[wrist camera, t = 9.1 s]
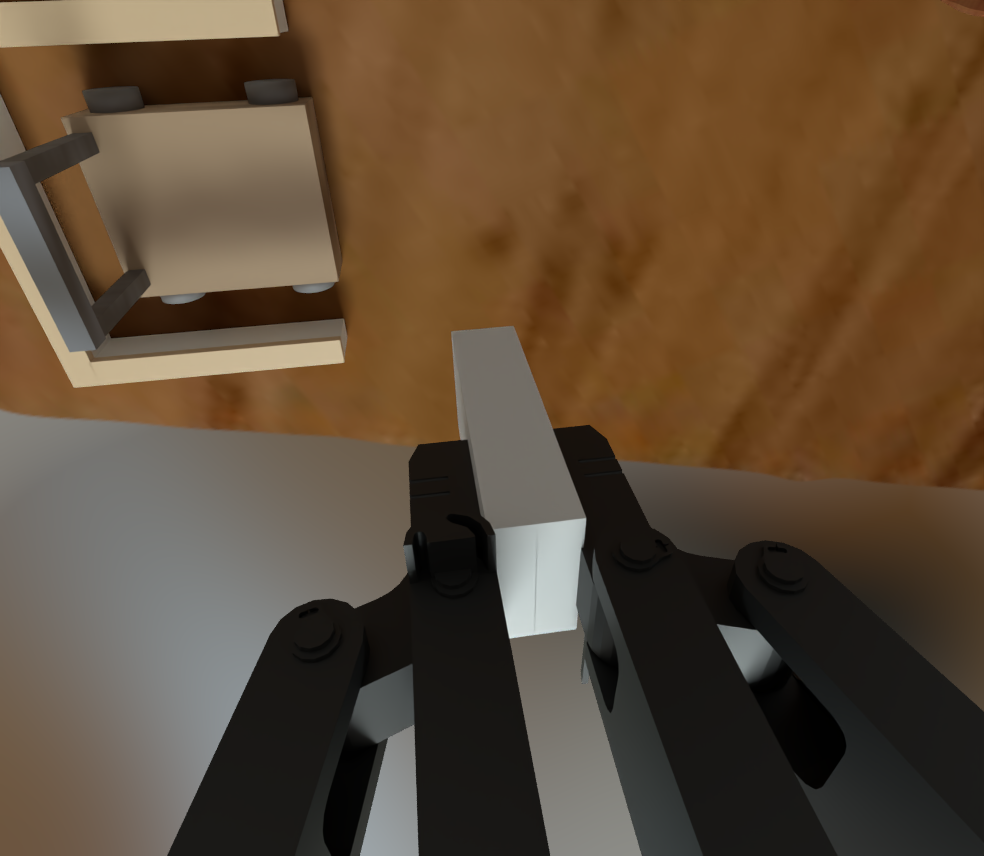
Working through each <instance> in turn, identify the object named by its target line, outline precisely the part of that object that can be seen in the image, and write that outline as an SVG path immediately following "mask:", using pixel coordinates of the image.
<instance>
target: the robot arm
mask: <svg viewBox="0 0 984 856" xmlns="http://www.w3.org/2000/svg"><path fill="white" fill-rule="evenodd" d="M451 334H452V347H453V360H454V373H455V387H456V400H457V413H458V425H459V432H460V438H461V440H458V441H448V442H439V443H429V444H420V445H418V446H417V448H416V450H415V452H414V453H413V455H412V457H411V459H410V461H409V482H410V513H411V528H410V529H409V530H408V531H407V533H406V537H405V541H404V545H403V547H404V553H405V558H406V564H407V571H408V573H407V575H406V576H405V578H404V579H403V580H402V581H401V583H400V584H399V585H398V586H397V587H395V588H394V589H393V590H392V591H390V592H389V593H388V594H386V595H384V596H382V597H380V598H378V599H376V600H374V601H371V602H369V603H367V604H364V605H362V606H360V607H357V608H355V609H354V608H353V607H352V606H351V605H349V604H348V603H346V602H342V601H339V600H335V599H322V600H313V601H311V602H308V603H306V604H303V605H301V606H298V607H296V608H295V609H293V610H292V611H291V612H290V613H288V614H287V615H286V616H284V617H283V618H282V619H281V620H280V621H279V622H278V624H277V625H276V627H275V628H274V630H273V631H272V633H271V634H270V636H269V638H268V640H267V642H266V645H265V647H264V649H263V651H262V653H261V655H260V657H259V660H258V662H257V664H256V666H255V668H254V671H253V672H252V675H251V677H250V679H249V681H248V683H247V685H246V687H245V690H244V692H243V694H242V696H241V698H240V701H239V702H238V705H237V707H236V709H235V711H234V713H233V715H232V718H231V720H230V722H229V724H228V727H227V728H226V730H225V733H224V735H223V737H222V739H221V741H220V743H219V745H218V748H217V750H216V752H215V754H214V756H213V758H212V761H211V763H210V765H209V767H208V769H207V771H206V773H205V776H204V778H203V780H202V782H201V784H200V786H199V788H198V791H197V793H196V795H195V797H194V799H193V801H192V803H191V806H190V808H189V810H188V812H187V814H186V816H185V819H184V821H183V823H182V825H181V827H180V829H179V831H178V834H177V836H176V838H175V840H174V842H173V844H172V846H171V849H170V851H169V853H168V855H167V856H360V852H361V848H362V844H363V840H364V835H365V832H366V827H367V823H368V819H369V815H370V810H371V806H372V802H373V798H374V794H375V790H376V786H377V782H378V777H379V773H380V769H381V765H382V761H383V756H384V752H385V748H386V744H387V740H388V737H390V736H392V735H394V734H396V733H398V732H400V731H402V730H404V729H406V728H408V727H410V726H412V725H414V726H415V756H416V785H417V816H418V845H419V846H418V847H419V856H550V852H549V847H548V841H547V836H546V831H545V826H544V820H543V815H542V809H541V804H540V799H539V793H538V788H537V783H536V778H535V772H534V767H533V762H532V756H531V751H530V746H529V741H528V735H527V730H526V725H525V720H524V714H523V708H522V703H521V698H520V692H519V687H518V682H517V677H516V672H515V666H514V661H513V655H512V650H511V645H510V640H509V638H516V637H522V636H530V635H537V634H544V633H551V632H559V631H566V630H573V629H576V626H577V616H578V613H579V617H580V620H581V623H582V626H583V629H584V632H585V638H584V648H583V657H582V666H581V680H582V684H585V683H588V679H589V676H590V679H591V683H592V686H593V689H594V693H595V696H596V700H597V703H598V707H599V710H600V713H601V717H602V720H603V723H604V727H605V730H606V734H607V737H608V741H609V744H610V747H611V751H612V755H613V758H614V761H615V765H616V768H617V772H618V775H619V778H620V782H621V786H622V789H623V792H624V795H625V799H626V803H627V806H628V810H629V813H630V816H631V820H632V823H633V826H634V830H635V834H636V837H637V840H638V844H639V847H640V851H641V854H642V856H984V712H983V711H982V710H981V709H980V708H979V707H978V706H977V705H976V704H975V703H973V702H972V701H971V700H970V699H969V698H968V697H967V696H966V695H965V694H964V693H962V692H961V691H960V690H959V689H958V688H957V687H956V686H955V685H954V684H952V683H951V682H950V681H949V680H948V679H947V678H946V677H945V676H944V675H943V674H941V673H940V672H939V671H938V670H937V669H936V668H935V667H934V666H933V665H931V664H930V663H929V662H928V661H927V660H926V659H925V658H923V656H922V655H920V654H919V653H918V652H917V651H916V650H915V649H914V648H913V647H911V646H910V645H909V644H908V643H907V642H906V641H905V640H904V639H903V638H902V637H900V636H899V635H898V634H897V633H896V632H895V631H894V630H893V629H892V628H890V627H889V626H888V625H887V624H886V623H885V622H884V621H882V619H881V618H879V617H878V616H877V615H876V614H875V613H874V612H873V611H872V610H870V609H869V608H868V607H867V606H866V605H865V604H864V603H863V602H862V601H861V600H859V599H858V598H857V597H856V596H855V595H854V594H853V593H852V592H851V591H850V590H848V589H847V588H846V587H845V586H844V585H843V584H842V583H841V582H840V581H838V580H837V579H836V578H835V577H834V576H833V575H832V574H831V573H830V572H828V571H827V570H826V569H825V568H824V567H823V566H822V565H821V564H820V563H818V562H817V561H816V560H815V559H813V558H812V557H811V556H809V555H808V554H806V553H805V552H803V551H802V550H800V549H798V548H795V547H793V546H790V545H787V544H785V543H780V542H773V541H760V542H753V543H750V544H748V545H746V546H745V547H743V548H742V549H740V550H739V552H738V555H737V556H736V559H735V560H728V559H720V558H713V557H705V556H699V555H694V554H690V553H686V552H684V551H681V550H679V549H677V548H676V546H675V545H674V544H673V543H672V542H671V541H670V539H669V538H668V537H666V536H665V535H663V534H662V533H660V532H659V531H657V530H655V529H652V528H651V527H650V525H649V523H648V521H647V519H646V517H645V515H644V513H643V511H642V509H641V507H640V505H639V503H638V501H637V499H636V497H635V495H634V493H633V491H632V489H631V487H630V485H629V483H628V481H627V479H626V477H625V475H624V474H622V469H621V467H620V465H619V463H618V461H617V459H615V455H614V453H613V451H612V449H611V447H610V445H609V443H608V441H607V439H606V438H605V437H604V436H602V435H601V434H600V433H599V432H598V431H596V430H595V429H594V428H593V427H591V426H590V425H585V426H575V427H566V428H556V429H552V426H551V423H550V421H549V418H548V416H547V413H546V410H545V408H544V405H543V402H542V400H541V397H540V394H539V392H538V389H537V386H536V384H535V381H534V379H533V376H532V373H531V371H530V368H529V365H528V363H527V360H526V357H525V355H524V352H523V350H522V347H521V344H520V342H519V339H518V336H517V334H516V331H515V328H514V326H508V327H496V328H485V329H474V330H462V331H451Z"/></svg>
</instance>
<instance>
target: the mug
mask: <svg viewBox="0 0 984 856" xmlns="http://www.w3.org/2000/svg"><path fill="white" fill-rule="evenodd" d="M941 1H943V2H944V3H946V4H948V5H949V6H951V7H953V8H955V9H956V10H958V11H960V12H964V13H967V14H970V15H974V16H982V17H984V0H941Z"/></svg>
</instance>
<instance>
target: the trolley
mask: <svg viewBox="0 0 984 856" xmlns="http://www.w3.org/2000/svg"><path fill="white" fill-rule="evenodd" d="M244 85H245V89H246V94H247V98H248V100H240V101H220V102H200V103H180V104H160V105H144V103H143V100H142V97H141V94H140V91H139V88H138V87H137V86H117V87H104V88H95V89H88V90H83V91H82V92H83V95H84V98H85V100H86V103H87V106H88V108H89V109H86V110H83V111H80V112H77V113H74V114H71V115H68V116H65V117H61V120H62V123H63V125H64V127H65V130H66V132H67V136H64V137H61V138H59V139H56V140H53V141H51V142H48V143H46V144H43V145H40V146H38V147H35V148H33V149H30V150H27V151H25V152H22V153H20V154H17V155H14V156H12V157H9V158H7V159H4V160H1V161H0V216H1V218H2V220H3V222H4V224H5V226H6V228H7V230H8V232H9V234H10V236H11V238H12V240H13V241H14V243H15V245H16V247H17V249H18V251H19V253H20V255H21V257H22V259H23V261H24V263H25V265H26V267H27V269H28V271H29V273H30V275H31V277H32V279H33V281H34V283H35V285H36V287H37V289H38V291H39V293H40V295H41V297H42V299H43V301H44V303H45V305H46V307H47V309H48V310H49V312H50V314H51V316H52V318H53V320H54V322H55V324H56V326H57V328H58V330H59V332H60V334H61V336H62V338H63V340H64V342H65V344H66V346H67V348H68V350H69V352H79V351H90V350H97V349H98V347H99V346H100V345H101V344H102V343H103V342H104V341H105V339H106V336H107V334H108V333H109V332H110V331H111V330H112V329H113V328H114V326H115V325H116V324H117V323H118V322H119V321H120V320H121V318H122V317H123V316H124V315H125V314H126V313H127V312H128V310H129V309H130V308H131V307H132V306H133V305H134V304H135V302H136V301H137V300H138V299H139V298H141V297H153V296H160V297H161V299H162V301H163V302H164V303H168V304H181V303H187V302H191V301H194V300H197V299H199V298H201V297H203V296H204V295H205V294H206V292H215V291H228V290H240V289H253V288H265V287H278V286H290V285H293V289H294V290H295V291H297V292H300V293H315V292H320V291H324V290H327V289H329V288H331V287H332V286H333V285H334V282H338V281H339V276H340V271H341V266H342V256H341V250H340V245H339V239H338V234H337V229H336V223H335V218H334V212H333V207H332V201H331V196H330V190H329V185H328V179H327V174H326V169H325V163H324V158H323V152H322V147H321V141H320V136H319V130H318V125H317V119H316V114H315V108H314V103H313V98H312V97H299V98H298V94H297V88H296V83H295V80H294V79H266V80H256V81H249V82H245V83H244ZM78 163H79V164H80V166H81V169H82V171H83V174H84V176H85V179H86V181H87V183H88V186H89V188H90V191H91V193H92V196H93V198H94V201H95V203H96V205H97V208H98V210H99V213H100V215H101V218H102V220H103V223H104V225H105V227H106V230H107V232H108V235H109V237H110V240H111V242H112V244H113V247H114V249H115V252H116V254H117V257H118V259H119V262H120V264H121V266H122V269H123V271H124V274H123V275H122V276H121V277H120V278H119V279H118V280H117V281H116V282H115V283H114V284H113V285H112V286H111V287H110V288H109V289H108V290H107V291H106V292H105V293H104V294H103V295H102V296H101V297H100V298H99V299H98V300H97V301H96V302H95V303H94V304H93V305H92V306H91V305H90V302H89V300H88V298H87V296H86V294H85V292H84V289H83V287H82V285H81V283H80V281H79V278H78V276H77V274H76V272H75V270H74V268H73V265H72V263H71V261H70V259H69V257H68V255H67V252H66V250H65V248H64V246H63V244H62V241H61V239H60V237H59V235H58V233H57V231H56V228H55V226H54V224H53V222H52V220H51V218H50V215H49V213H48V211H47V209H46V207H45V204H44V202H43V200H42V198H41V196H40V194H39V191H38V189H37V187H36V185H35V184H37V183H39V182H41V181H43V180H45V179H47V178H49V177H51V176H53V175H55V174H57V173H59V172H61V171H63V170H65V169H67V168H69V167H71V166H74V165H76V164H78Z"/></svg>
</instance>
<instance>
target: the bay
mask: <svg viewBox="0 0 984 856" xmlns="http://www.w3.org/2000/svg"><path fill="white" fill-rule="evenodd" d="M287 31H288V26H287V21H286V16H285V10H284V5H283V0H61V1H31V2H1V3H0V47H22V46H47V45H71V44H96V43H121V42H146V41H171V40H196V39H221V38H246V37H270V36H280V33H282V32H287ZM25 151H26V149H25V147H24V145H23V143H22V141H21V138H20V136H19V134H18V132H17V130H16V127H15V125H14V123H13V121H12V119H11V116H10V114H9V112H8V110H7V108H6V105H5V103H4V101H3V99H2V97H1V94H0V161H1V160H4V159H7V158H9V157H12V156H14V155H17V154H20V153H22V152H25ZM35 185H36V187H37V189H38V191H39V194H40V196H41V198H42V200H43V202H44V204H45V207H46V209H47V211H48V213H49V215H50V218H51V220H52V222H53V224H54V226H55V228H56V231H57V233H58V235H59V237H60V239H61V241H62V244H63V246H64V248H65V250H66V252H67V255H68V257H69V259H70V261H71V263H72V265H73V268H74V270H75V272H76V274H77V276H78V278H79V281H80V283H81V285H82V287H83V289H84V292H85V294H86V296H87V298H88V300H89V302H90V305H91V306H92V305H93V304H94V303H95V302H94V299H93V297H92V295H91V293H90V291H89V288H88V286H87V284H86V282H85V280H84V277H83V275H82V273H81V271H80V268H79V266H78V264H77V262H76V260H75V257H74V255H73V253H72V251H71V249H70V246H69V244H68V242H67V240H66V238H65V235H64V233H63V231H62V229H61V227H60V224H59V222H58V220H57V218H56V216H55V213H54V211H53V209H52V207H51V205H50V202H49V200H48V198H47V196H46V194H45V191H44V189H43V187H42V185H41V183H40V182H39V183H37V184H35ZM0 247H1V249H2V251H3V253H4V255H5V257H6V259H7V260H8V262H9V264H10V266H11V268H12V270H13V272H14V274H15V276H16V278H17V280H18V282H19V283H20V285H21V287H22V289H23V291H24V293H25V295H26V297H27V299H28V301H29V303H30V304H31V306H32V308H33V310H34V312H35V314H36V316H37V318H38V320H39V322H40V324H41V325H42V327H43V329H44V331H45V333H46V335H47V337H48V339H49V341H50V343H51V345H52V347H53V348H54V350H55V352H56V354H57V356H58V358H59V360H60V362H61V364H62V366H63V368H64V369H65V371H66V373H67V375H68V377H69V379H70V381H71V383H72V385H73V387H74V388H76V387H87V386H98V385H109V384H119V383H130V382H141V381H152V380H162V379H173V378H184V377H195V376H206V375H216V374H227V373H238V372H249V371H260V370H270V369H281V368H292V367H303V366H314V365H324V364H335V363H344V362H345V351H346V343H347V332H346V327H345V322H344V319H332V320H321V321H309V322H297V323H286V324H274V325H262V326H251V327H239V328H227V329H215V330H204V331H192V332H180V333H169V334H157V335H145V336H134V337H122V338H111V337H110V335H109V333H108V334H107V336H106V339H105V341H104V342H103V343H102V344H101V345H100V346H99V347H98V349H97V350H90V351H79V352H69V350H68V348H67V346H66V344H65V342H64V340H63V338H62V336H61V334H60V332H59V330H58V328H57V326H56V324H55V322H54V320H53V318H52V316H51V314H50V312H49V310H48V309H47V307H46V305H45V303H44V301H43V299H42V297H41V295H40V293H39V291H38V289H37V287H36V285H35V283H34V281H33V279H32V277H31V275H30V273H29V271H28V269H27V267H26V265H25V263H24V261H23V259H22V257H21V255H20V253H19V251H18V249H17V247H16V245H15V243H14V241H13V240H12V238H11V236H10V234H9V232H8V230H7V228H6V226H5V224H4V222H3V220H2V218H1V216H0Z"/></svg>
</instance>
